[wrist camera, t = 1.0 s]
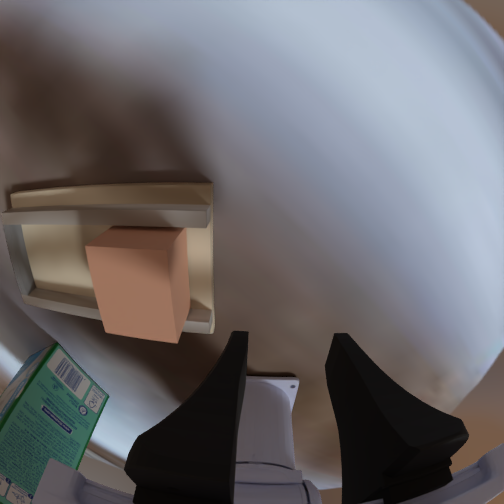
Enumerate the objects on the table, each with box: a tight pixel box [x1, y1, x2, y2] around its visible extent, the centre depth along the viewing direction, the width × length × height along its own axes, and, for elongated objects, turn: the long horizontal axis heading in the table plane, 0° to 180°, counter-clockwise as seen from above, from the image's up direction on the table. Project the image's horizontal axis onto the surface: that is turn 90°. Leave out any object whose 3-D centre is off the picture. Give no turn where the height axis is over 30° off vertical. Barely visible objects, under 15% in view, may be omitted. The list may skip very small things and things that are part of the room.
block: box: [85, 225, 191, 343], centre depth 16 cm, size 6×5×4 cm
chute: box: [1, 182, 215, 334], centre depth 18 cm, size 11×18×2 cm, turn 87°
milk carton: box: [0, 343, 109, 504], centre depth 15 cm, size 9×9×25 cm
